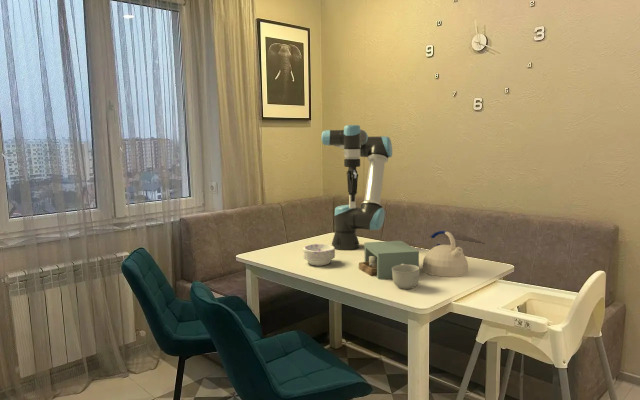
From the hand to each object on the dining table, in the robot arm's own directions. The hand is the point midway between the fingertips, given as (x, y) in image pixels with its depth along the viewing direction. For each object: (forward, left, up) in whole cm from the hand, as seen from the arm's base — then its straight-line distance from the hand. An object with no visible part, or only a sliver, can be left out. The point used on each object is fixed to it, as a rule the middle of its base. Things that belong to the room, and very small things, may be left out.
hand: (352, 208), depth 228 cm
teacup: (+40, +12, -27) cm, 50 cm away
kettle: (+23, +37, -27) cm, 51 cm away
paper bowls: (-2, -16, -27) cm, 31 cm away
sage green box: (+18, +13, -26) cm, 35 cm away
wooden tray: (+17, +9, -27) cm, 33 cm away
